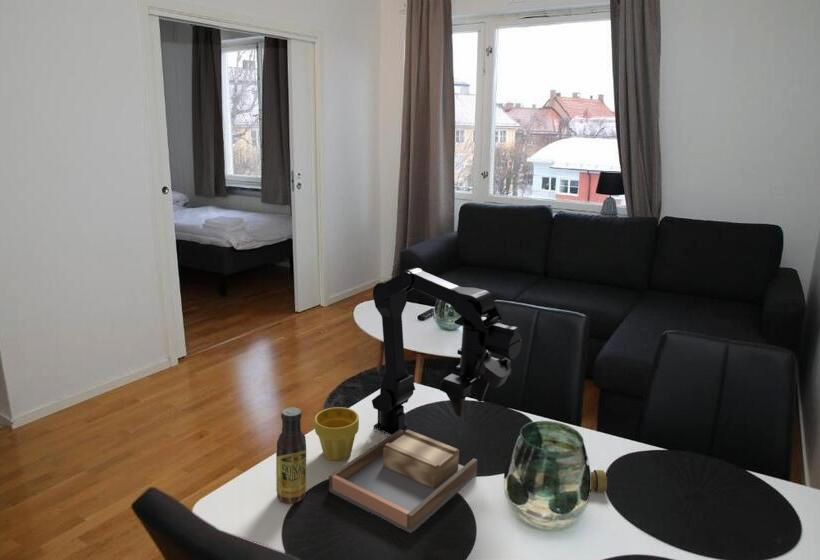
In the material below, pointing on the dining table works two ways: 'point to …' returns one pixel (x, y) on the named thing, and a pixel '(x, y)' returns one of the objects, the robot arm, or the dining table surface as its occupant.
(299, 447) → the sauce bottle
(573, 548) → the dining table surface
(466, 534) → the dining table surface
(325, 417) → the plant pot
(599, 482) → the gavel
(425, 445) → the brown wooden box
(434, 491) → the bay
